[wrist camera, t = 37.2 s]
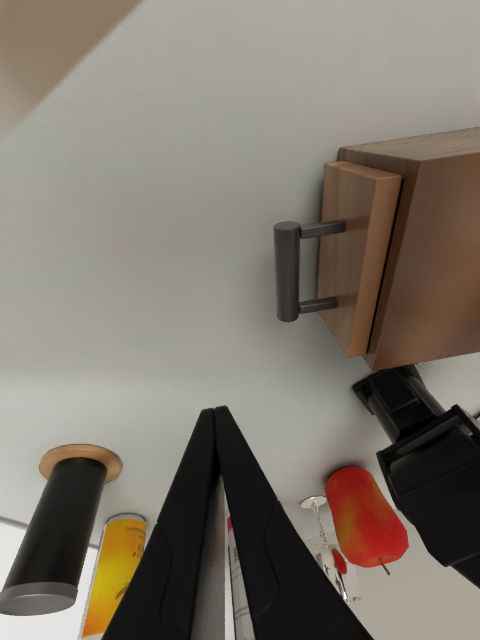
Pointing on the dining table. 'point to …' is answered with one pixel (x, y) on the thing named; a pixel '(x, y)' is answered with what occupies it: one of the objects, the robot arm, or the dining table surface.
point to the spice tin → (55, 541)
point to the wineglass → (334, 559)
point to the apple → (364, 519)
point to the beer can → (112, 572)
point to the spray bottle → (239, 592)
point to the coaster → (81, 451)
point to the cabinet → (428, 249)
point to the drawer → (342, 252)
